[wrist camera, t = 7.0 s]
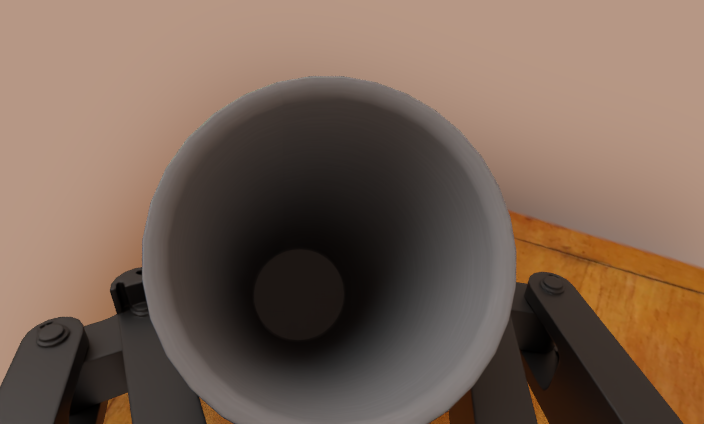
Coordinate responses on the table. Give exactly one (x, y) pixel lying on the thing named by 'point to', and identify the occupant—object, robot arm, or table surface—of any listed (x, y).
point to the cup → (329, 257)
